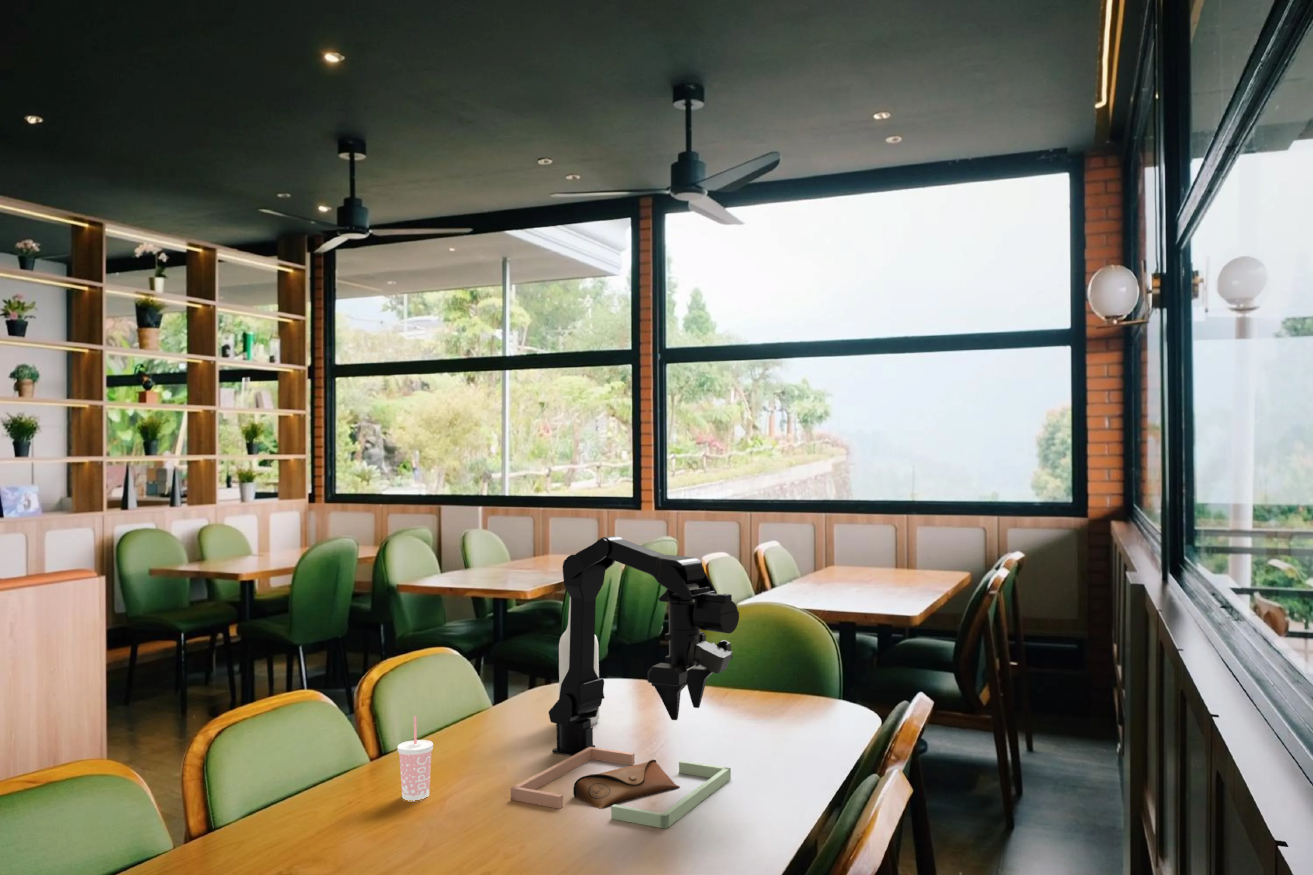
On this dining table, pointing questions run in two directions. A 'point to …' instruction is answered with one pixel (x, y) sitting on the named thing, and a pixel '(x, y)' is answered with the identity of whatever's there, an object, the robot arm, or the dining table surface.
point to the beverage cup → (415, 767)
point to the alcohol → (564, 658)
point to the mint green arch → (674, 813)
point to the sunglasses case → (622, 784)
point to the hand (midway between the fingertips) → (685, 713)
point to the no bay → (528, 787)
